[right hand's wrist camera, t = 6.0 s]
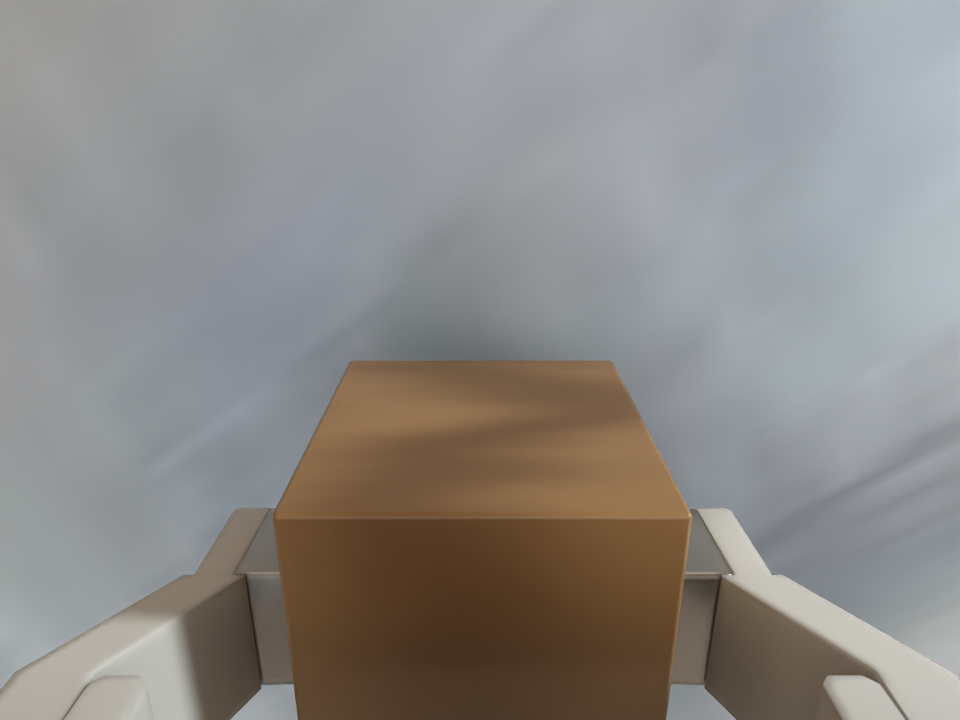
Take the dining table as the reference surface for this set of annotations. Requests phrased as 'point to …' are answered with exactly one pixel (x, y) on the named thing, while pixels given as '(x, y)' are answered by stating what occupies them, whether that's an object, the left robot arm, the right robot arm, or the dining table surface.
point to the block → (482, 547)
